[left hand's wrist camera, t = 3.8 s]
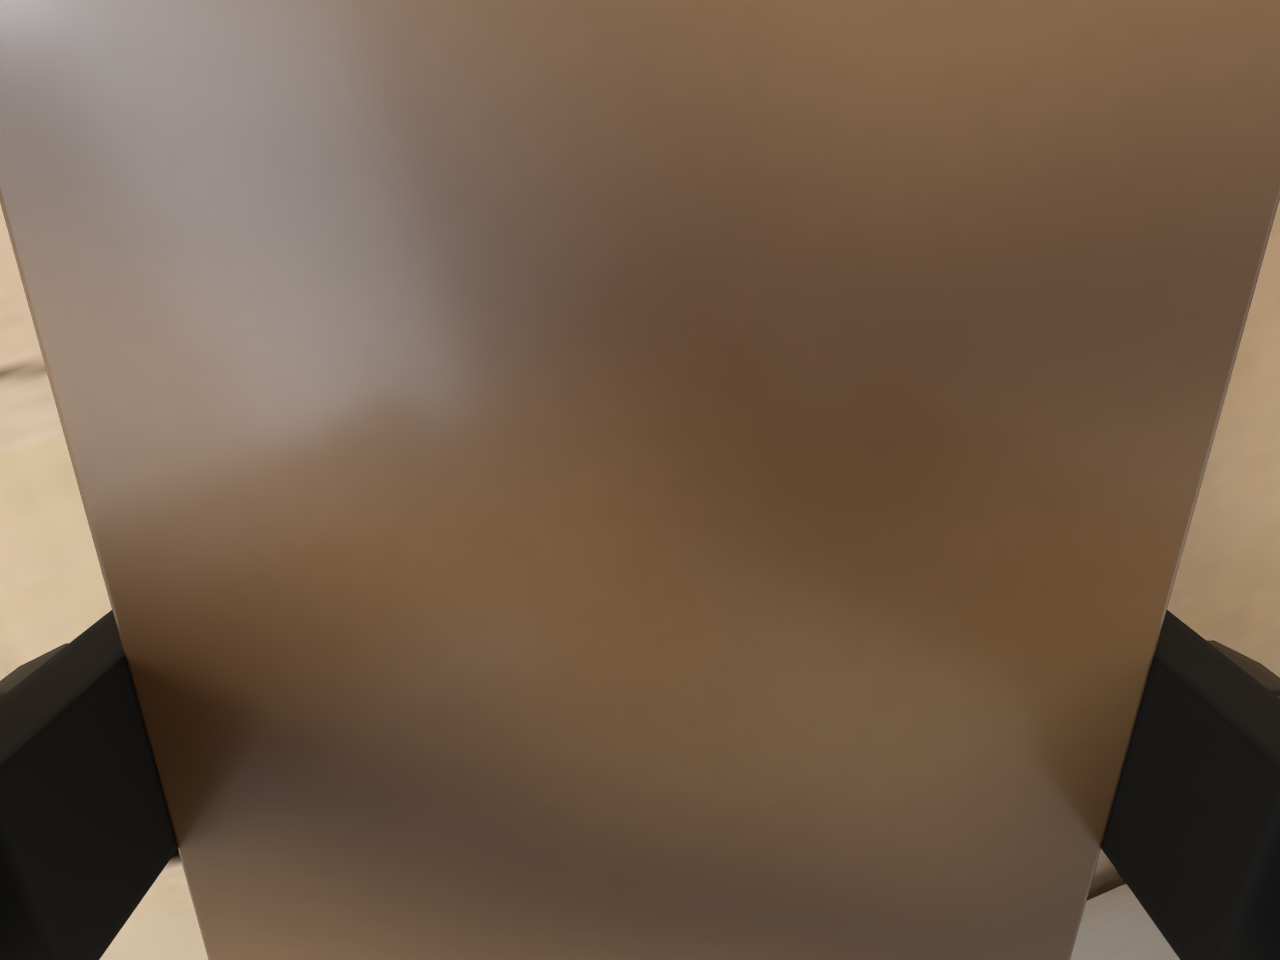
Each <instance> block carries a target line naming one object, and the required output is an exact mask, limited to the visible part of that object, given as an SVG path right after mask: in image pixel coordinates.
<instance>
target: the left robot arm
mask: <svg viewBox="0 0 1280 960" xmlns="http://www.w3.org/2000/svg"><path fill="white" fill-rule="evenodd" d="M177 849H178V846H177V843H176V839H175V835H174V832H173V828H172V825H171V821H170V817H169V814H168V810H167V806H166V803H165V799H164V795H163V792H162V788H161V785H160V781H159V777H158V774H157V770H156V766H155V763H154V759H153V755H152V752H151V748H150V745H149V741H148V737H147V734H146V730H145V726H144V723H143V719H142V715H141V712H140V708H139V705H138V701H137V697H136V694H135V690H134V686H133V683H132V679H131V675H130V672H129V668H128V665H127V661H126V657H125V654H124V650H123V646H122V643H121V639H120V635H119V632H118V628H117V625H116V621H115V617H114V614H113V610H111V611H110V612H109V613H107V614H106V615H105V616H104V617H102V618H101V619H100V620H99V621H97V622H96V623H95V624H93V625H92V626H91V627H90V628H88V629H87V630H86V631H85V632H83V633H82V634H81V635H79V636H78V637H77V638H76V639H74V640H73V641H72V642H71V643H69V644H64V645H62V646H60V647H58V648H56V649H54V650H52V651H50V652H48V653H46V654H44V655H42V656H40V657H38V658H36V659H34V660H32V661H30V662H28V663H26V664H24V665H22V666H20V667H18V668H17V669H16V670H14V671H13V672H12V673H10V674H9V675H8V676H6V677H5V678H4V679H2V680H1V681H0V960H99V959H100V958H101V956H102V955H103V954H104V952H105V951H106V949H107V948H108V946H109V945H110V944H111V942H112V941H113V939H114V938H115V937H116V935H117V934H118V932H119V931H120V929H121V928H122V927H123V925H124V924H125V922H126V921H127V920H128V918H129V917H130V915H131V914H132V912H133V911H134V910H135V908H136V907H137V905H138V904H139V903H140V901H141V900H142V898H143V897H144V895H145V894H146V893H147V891H148V890H149V888H150V887H151V886H152V884H153V883H154V881H155V880H156V878H157V877H158V876H159V874H160V873H161V871H162V870H163V869H164V867H165V866H166V864H167V863H168V861H169V860H170V859H171V857H172V856H173V854H174V853H175V852H176V850H177ZM1101 849H1102V850H1103V851H1104V853H1105V854H1106V856H1107V857H1108V858H1109V860H1110V861H1111V863H1112V864H1113V866H1114V867H1115V868H1116V870H1117V871H1118V873H1119V874H1120V875H1121V877H1122V878H1123V880H1124V881H1125V883H1126V884H1127V885H1128V887H1129V888H1130V890H1131V891H1132V892H1133V894H1134V895H1135V897H1136V898H1137V900H1138V901H1139V902H1140V904H1141V905H1142V907H1143V908H1144V909H1145V911H1146V912H1147V914H1148V915H1149V917H1150V918H1151V919H1152V921H1153V922H1154V924H1155V925H1156V926H1157V928H1158V929H1159V931H1160V932H1161V934H1162V935H1163V936H1164V938H1165V939H1166V941H1167V942H1168V943H1169V945H1170V946H1171V948H1172V949H1173V951H1174V952H1175V953H1176V955H1177V956H1178V958H1179V959H1180V960H1280V678H1279V677H1278V676H1276V675H1275V674H1274V673H1272V672H1271V671H1270V670H1268V669H1267V668H1266V667H1264V666H1263V665H1262V664H1260V663H1258V662H1256V661H1254V660H1252V659H1250V658H1248V657H1246V656H1244V655H1242V654H1240V653H1238V652H1236V651H1234V650H1232V649H1230V648H1228V647H1226V646H1224V645H1222V644H1220V643H1218V642H1216V641H1206V640H1205V639H1203V638H1202V637H1201V636H1200V635H1198V634H1197V633H1196V632H1194V631H1193V630H1192V629H1191V628H1189V627H1188V626H1187V625H1186V624H1184V623H1183V622H1182V621H1181V620H1179V619H1178V618H1177V617H1175V616H1174V615H1173V614H1172V613H1170V612H1169V611H1168V610H1166V614H1165V617H1164V621H1163V624H1162V628H1161V632H1160V635H1159V639H1158V643H1157V646H1156V650H1155V654H1154V657H1153V661H1152V664H1151V668H1150V672H1149V675H1148V679H1147V683H1146V686H1145V690H1144V693H1143V697H1142V701H1141V704H1140V708H1139V712H1138V715H1137V719H1136V723H1135V726H1134V730H1133V733H1132V737H1131V741H1130V744H1129V748H1128V752H1127V755H1126V759H1125V763H1124V766H1123V770H1122V773H1121V777H1120V781H1119V784H1118V788H1117V792H1116V795H1115V799H1114V803H1113V806H1112V810H1111V813H1110V817H1109V821H1108V824H1107V828H1106V832H1105V835H1104V839H1103V843H1102V846H1101Z"/></svg>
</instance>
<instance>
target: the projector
mask: <svg viewBox="0 0 1280 960" xmlns="http://www.w3.org/2000/svg"><path fill="white" fill-rule="evenodd" d="M1070 960H1180V959H1179V958H1178V956H1177V955H1176V953H1175V952H1174V951H1173V949H1172V948H1171V946H1170V945H1169V943H1168V942H1167V941H1166V939H1165V938H1164V936H1163V935H1162V934H1161V932H1160V931H1159V929H1158V928H1157V926H1156V925H1155V924H1154V922H1153V921H1152V919H1151V918H1150V917H1149V915H1148V914H1147V912H1146V911H1145V909H1144V908H1143V907H1142V905H1141V904H1140V902H1139V901H1138V900H1137V898H1136V897H1135V895H1134V894H1133V892H1132V891H1131V890H1130V888H1129V887H1128V885H1127V884H1124V885H1122V886H1119V887H1117V888H1115V889H1112V890H1110V891H1108V892H1106V893H1103V894H1101V895H1099V896H1096V897H1094V898H1092V899H1090V900H1087V901H1086V904H1085V908H1084V912H1083V915H1082V919H1081V922H1080V926H1079V930H1078V933H1077V937H1076V941H1075V944H1074V948H1073V952H1072V955H1071V959H1070Z"/></svg>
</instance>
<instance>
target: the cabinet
mask: <svg viewBox="0 0 1280 960" xmlns="http://www.w3.org/2000/svg"><path fill="white" fill-rule="evenodd" d="M1279 199H1280V0H0V203H1V207H2V210H3V214H4V217H5V221H6V225H7V228H8V232H9V236H10V239H11V243H12V247H13V250H14V254H15V257H16V261H17V265H18V268H19V272H20V276H21V279H22V283H23V286H24V290H25V294H26V297H27V301H28V305H29V308H30V312H31V316H32V319H33V323H34V326H35V330H36V334H37V337H38V341H39V345H40V348H41V352H42V356H43V359H44V363H45V366H46V370H47V374H48V377H49V381H50V385H51V388H52V392H53V396H54V399H55V403H56V406H57V410H58V414H59V417H60V421H61V425H62V428H63V432H64V436H65V439H66V443H67V446H68V450H69V454H70V457H71V461H72V465H73V468H74V472H75V476H76V479H77V483H78V486H79V490H80V494H81V497H82V501H83V505H84V508H85V512H86V516H87V519H88V523H89V526H90V530H91V534H92V537H93V541H94V545H95V548H96V552H97V556H98V559H99V563H100V566H101V570H102V574H103V577H104V581H105V585H106V588H107V592H108V595H109V599H110V603H111V606H112V610H113V614H114V617H115V621H116V625H117V628H118V632H119V635H120V639H121V643H122V646H123V650H124V654H125V657H126V661H127V665H128V668H129V672H130V675H131V679H132V683H133V686H134V690H135V694H136V697H137V701H138V705H139V708H140V712H141V715H142V719H143V723H144V726H145V730H146V734H147V737H148V741H149V745H150V748H151V752H152V755H153V759H154V763H155V766H156V770H157V774H158V777H159V781H160V785H161V788H162V792H163V795H164V799H165V803H166V806H167V810H168V814H169V817H170V821H171V825H172V828H173V832H174V835H175V839H176V843H177V846H178V850H179V854H180V857H181V861H182V864H183V868H184V872H185V875H186V879H187V883H188V886H189V890H190V894H191V897H192V901H193V904H194V908H195V912H196V915H197V919H198V923H199V926H200V930H201V934H202V937H203V941H204V944H205V948H206V952H207V955H208V959H209V960H1070V959H1071V955H1072V952H1073V948H1074V944H1075V941H1076V937H1077V933H1078V930H1079V926H1080V922H1081V919H1082V915H1083V912H1084V908H1085V904H1086V901H1087V897H1088V893H1089V890H1090V886H1091V883H1092V879H1093V875H1094V872H1095V868H1096V864H1097V861H1098V857H1099V853H1100V850H1101V846H1102V843H1103V839H1104V835H1105V832H1106V828H1107V824H1108V821H1109V817H1110V813H1111V810H1112V806H1113V803H1114V799H1115V795H1116V792H1117V788H1118V784H1119V781H1120V777H1121V773H1122V770H1123V766H1124V763H1125V759H1126V755H1127V752H1128V748H1129V744H1130V741H1131V737H1132V733H1133V730H1134V726H1135V723H1136V719H1137V715H1138V712H1139V708H1140V704H1141V701H1142V697H1143V693H1144V690H1145V686H1146V683H1147V679H1148V675H1149V672H1150V668H1151V664H1152V661H1153V657H1154V654H1155V650H1156V646H1157V643H1158V639H1159V635H1160V632H1161V628H1162V624H1163V621H1164V617H1165V614H1166V610H1167V606H1168V603H1169V599H1170V595H1171V592H1172V588H1173V584H1174V581H1175V577H1176V574H1177V570H1178V566H1179V563H1180V559H1181V555H1182V552H1183V548H1184V544H1185V541H1186V537H1187V534H1188V530H1189V526H1190V523H1191V519H1192V515H1193V512H1194V508H1195V504H1196V501H1197V497H1198V494H1199V490H1200V486H1201V483H1202V479H1203V475H1204V472H1205V468H1206V464H1207V461H1208V457H1209V454H1210V450H1211V446H1212V443H1213V439H1214V435H1215V432H1216V428H1217V425H1218V421H1219V417H1220V414H1221V410H1222V406H1223V403H1224V399H1225V395H1226V392H1227V388H1228V385H1229V381H1230V377H1231V374H1232V370H1233V366H1234V363H1235V359H1236V355H1237V352H1238V348H1239V345H1240V341H1241V337H1242V334H1243V330H1244V326H1245V323H1246V319H1247V315H1248V312H1249V308H1250V305H1251V301H1252V297H1253V294H1254V290H1255V286H1256V283H1257V279H1258V275H1259V272H1260V268H1261V265H1262V261H1263V257H1264V254H1265V250H1266V246H1267V243H1268V239H1269V235H1270V232H1271V228H1272V225H1273V221H1274V217H1275V214H1276V210H1277V206H1278V203H1279Z"/></svg>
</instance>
